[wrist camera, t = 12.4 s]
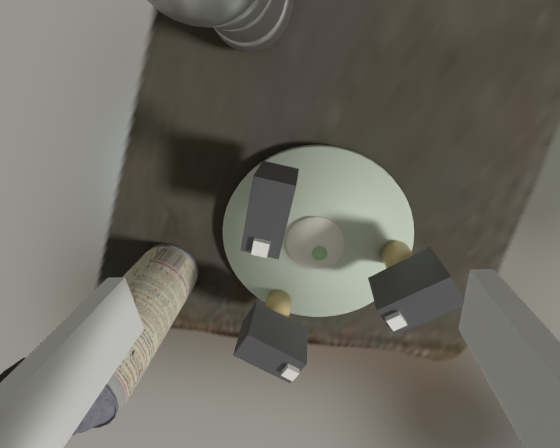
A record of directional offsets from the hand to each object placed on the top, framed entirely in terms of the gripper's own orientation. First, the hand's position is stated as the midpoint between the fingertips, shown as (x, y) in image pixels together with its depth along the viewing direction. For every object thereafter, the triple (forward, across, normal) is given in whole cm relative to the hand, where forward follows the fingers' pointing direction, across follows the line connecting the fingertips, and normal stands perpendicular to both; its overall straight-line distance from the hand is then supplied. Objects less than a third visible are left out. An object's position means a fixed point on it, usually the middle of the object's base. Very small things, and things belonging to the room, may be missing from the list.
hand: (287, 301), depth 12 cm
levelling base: (+20, +1, -8) cm, 22 cm away
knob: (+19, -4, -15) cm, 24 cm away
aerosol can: (+20, -17, -11) cm, 29 cm away
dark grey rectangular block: (+19, -3, -1) cm, 19 cm away
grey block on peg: (+19, +9, -9) cm, 23 cm away
